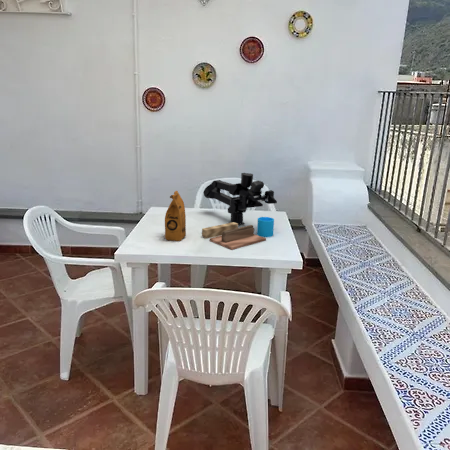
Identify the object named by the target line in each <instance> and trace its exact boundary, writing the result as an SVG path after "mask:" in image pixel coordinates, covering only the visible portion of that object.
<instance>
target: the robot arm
mask: <svg viewBox="0 0 450 450" xmlns="http://www.w3.org/2000/svg"><path fill="white" fill-rule="evenodd" d="M240 176H241V178H240V182H238V183H230V182H227V181H223V180H222V179H221V180H220V179H215V180H212V182H211V183H210V184H209V185H207V186H206V187H205V188H204V190H203V196H204V197H205V198H206V199H213V200H214V199H215V200H217V201H218V202H220V203H223V204H225V205H227V206H228V208H227V213H228V214H230V221H228V223H232V222H235V223H238V226H241V225H245V222H244V213H246V212H247V210H248V209H247V208H258V207H263V205H264V204H263V203H262V202H264V203H265V204H268V205H270V204H273V205H274V204H277V202H278V201H277V199H275V196H274V195H275V192H274V190H265V191H264V195H262V193H263V191H262V189H264V186H265V183H264V181H262V180H254V181H253V179H254V174H253V173H249V172H248V173H247V172H241V175H240ZM222 190H223V191H226V192H227V193H228V194H230V195H231V196H230V195H228V194H225V193H223V192H222ZM232 196H234V197H232Z"/></svg>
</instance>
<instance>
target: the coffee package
mask: <svg viewBox="0 0 450 450" xmlns="http://www.w3.org/2000/svg"><path fill="white" fill-rule="evenodd" d="M178 191H179V190H175V191H174V193H173V194H172V195H170V196H169V199H172V200H171V201H170V203H169V206H168V208H167V210H166V211H165V216H164V239H165V240H166V241H171V242H172V241H175V242H182V241H183V239H184V238H186V235H187V228H186V227H187V226H186V223H187V222H186V221H187V220H186V219H187V217H186V208H185V203H184V201H183V198H182V197H181V195H180V193H179V192H178Z"/></svg>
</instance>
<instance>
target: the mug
mask: <svg viewBox="0 0 450 450" xmlns="http://www.w3.org/2000/svg"><path fill="white" fill-rule="evenodd" d="M256 225H257V227H256V228H257V229H256V231H257V232H256V235H258V236H261V237H264V238H271V237H274V230H275V229H274V227H275V226H274V225H275V219H274V218H273V217H270V216H259V217H257V224H256Z"/></svg>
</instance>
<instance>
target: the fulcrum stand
mask: <svg viewBox="0 0 450 450" xmlns="http://www.w3.org/2000/svg"><path fill="white" fill-rule="evenodd" d="M265 241H267V237H261V236H258V235H257V234H255V227H254V225H251V224H249V225H246V226H245V225H244V226H242V227H241V226H240V227H238V228H236V229H232V230H228V231H223V233H222V235H221V236H216V237H212V238H209V242H211V243H214V244H217V245H218V246H221V247H224V248H226V249H228V250H232V251H233V250H236V249H240V248H244V247H247V246H251V245H255V244H258V243H262V242H265Z"/></svg>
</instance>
